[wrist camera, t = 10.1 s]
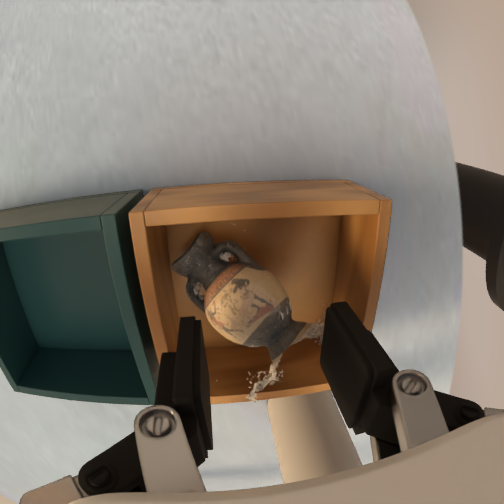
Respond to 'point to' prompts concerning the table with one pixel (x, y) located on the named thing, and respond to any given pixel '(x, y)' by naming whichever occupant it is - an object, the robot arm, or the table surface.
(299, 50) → the table surface
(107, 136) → the table surface
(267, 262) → the bin
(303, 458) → the beverage can
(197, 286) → the vase
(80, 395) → the can bin
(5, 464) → the table surface
